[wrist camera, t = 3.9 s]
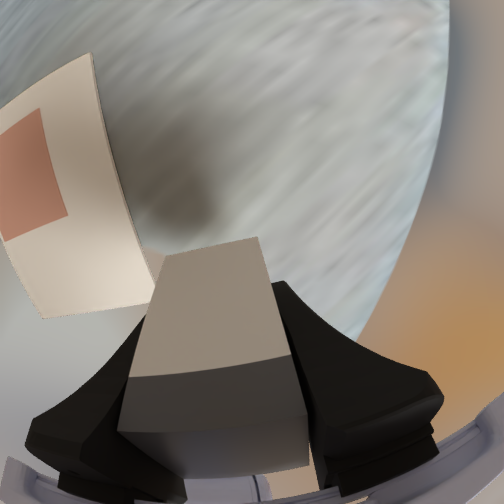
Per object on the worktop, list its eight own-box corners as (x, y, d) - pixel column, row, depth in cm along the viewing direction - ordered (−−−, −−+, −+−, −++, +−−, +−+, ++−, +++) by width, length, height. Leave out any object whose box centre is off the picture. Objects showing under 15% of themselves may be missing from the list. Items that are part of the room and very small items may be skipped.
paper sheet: (162, 297, 19) (161, 301, 19) (44, 316, 19) (42, 319, 19) (92, 53, 11) (88, 51, 11) (-25, 134, 11) (-29, 135, 10)
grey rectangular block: (270, 309, 13) (309, 465, 6) (192, 324, 13) (184, 479, 6) (257, 236, 11) (307, 413, 4) (165, 255, 11) (116, 430, 4)
